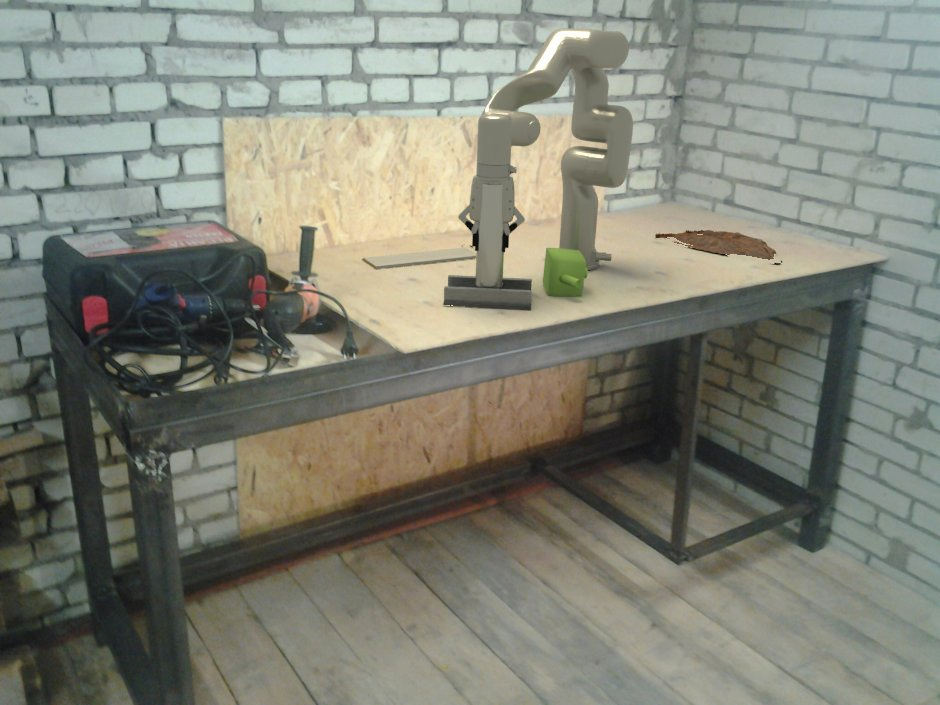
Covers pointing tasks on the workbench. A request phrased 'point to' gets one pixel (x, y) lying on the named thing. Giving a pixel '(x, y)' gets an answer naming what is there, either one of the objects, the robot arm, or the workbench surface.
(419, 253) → the baseboard
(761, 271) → the workbench surface
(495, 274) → the tan metal cylinder
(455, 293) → the floor track
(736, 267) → the workbench surface
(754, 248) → the brown flat irregular piece
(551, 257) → the lime handled box
